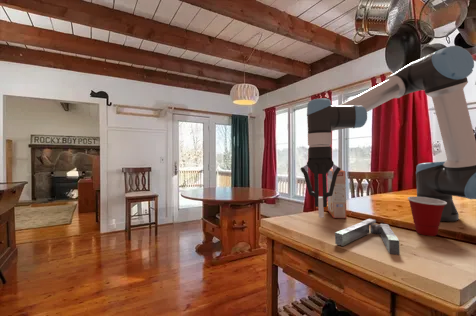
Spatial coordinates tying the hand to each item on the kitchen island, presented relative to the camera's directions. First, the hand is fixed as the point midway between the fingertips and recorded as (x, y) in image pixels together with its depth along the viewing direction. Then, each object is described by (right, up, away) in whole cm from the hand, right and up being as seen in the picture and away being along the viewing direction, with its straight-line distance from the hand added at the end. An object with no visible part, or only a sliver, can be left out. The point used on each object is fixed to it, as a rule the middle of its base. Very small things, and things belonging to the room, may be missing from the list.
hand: (321, 216), depth 82 cm
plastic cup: (+38, -7, +3) cm, 38 cm away
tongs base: (+19, -7, -3) cm, 21 cm away
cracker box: (+18, -7, +31) cm, 36 cm away
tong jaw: (+13, -7, +1) cm, 15 cm away
